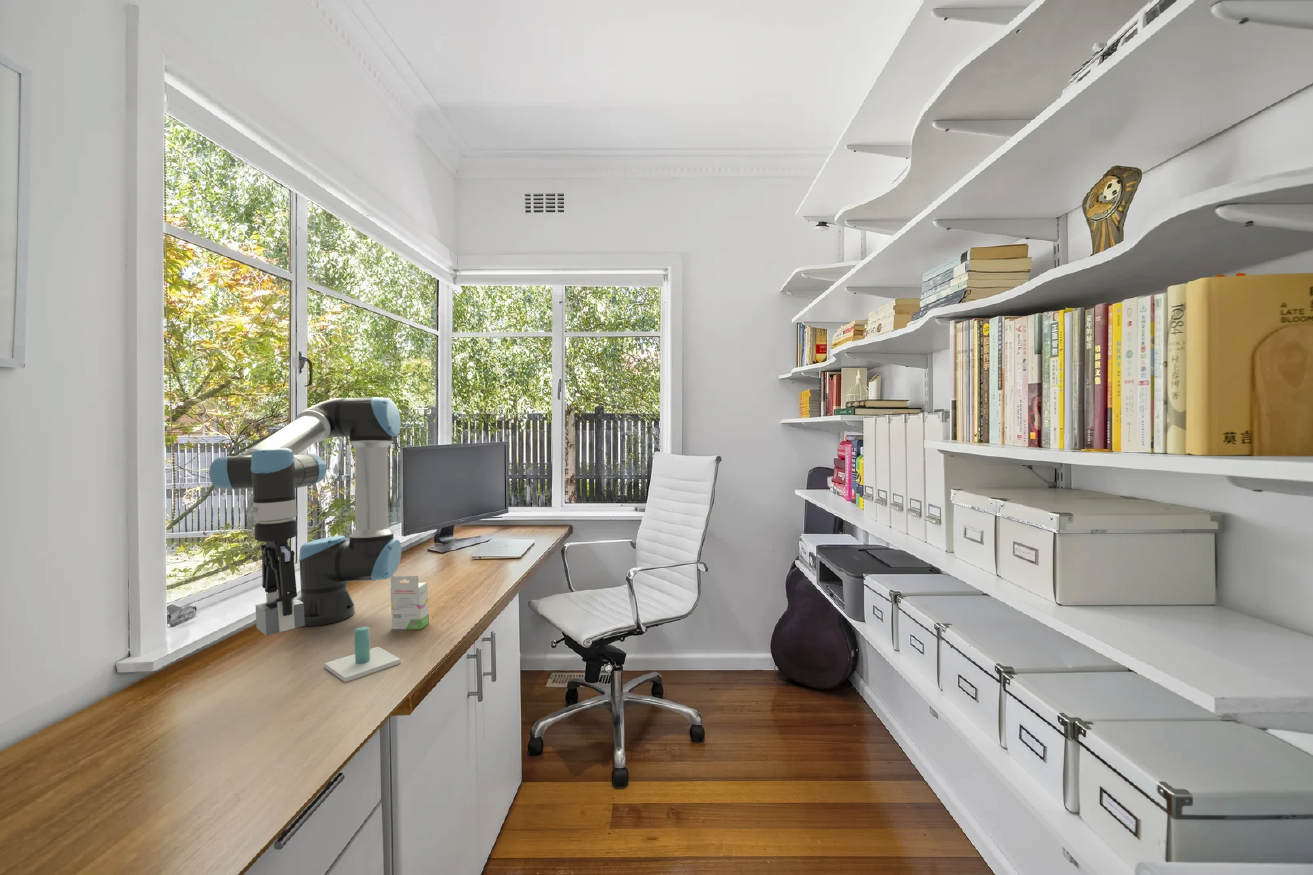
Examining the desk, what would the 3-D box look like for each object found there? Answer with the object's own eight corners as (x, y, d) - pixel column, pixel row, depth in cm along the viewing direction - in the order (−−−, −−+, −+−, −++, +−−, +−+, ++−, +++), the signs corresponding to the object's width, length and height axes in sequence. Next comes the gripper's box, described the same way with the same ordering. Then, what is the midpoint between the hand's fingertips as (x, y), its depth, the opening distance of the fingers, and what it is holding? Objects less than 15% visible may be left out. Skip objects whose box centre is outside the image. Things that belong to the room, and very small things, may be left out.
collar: (256, 627, 118) (255, 605, 118) (293, 618, 124) (292, 596, 124) (266, 635, 114) (265, 611, 114) (304, 625, 119) (303, 602, 119)
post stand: (324, 667, 127) (323, 631, 127) (378, 650, 136) (377, 616, 136) (345, 682, 119) (343, 643, 119) (400, 663, 128) (399, 627, 128)
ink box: (430, 623, 155) (428, 571, 154) (420, 629, 150) (419, 576, 149) (401, 622, 155) (399, 571, 155) (390, 629, 150) (389, 576, 150)
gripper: (241, 518, 122) (246, 620, 122) (269, 528, 109) (275, 642, 110) (281, 513, 127) (285, 610, 128) (311, 522, 114) (317, 630, 115)
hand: (280, 625), depth 119 cm, fingers closed on collar, 7 cm apart
